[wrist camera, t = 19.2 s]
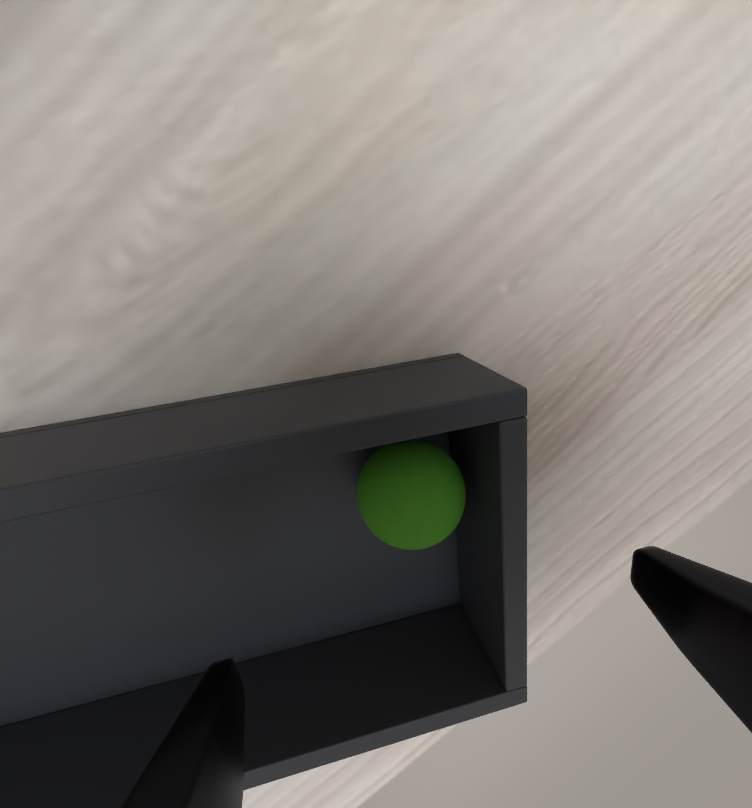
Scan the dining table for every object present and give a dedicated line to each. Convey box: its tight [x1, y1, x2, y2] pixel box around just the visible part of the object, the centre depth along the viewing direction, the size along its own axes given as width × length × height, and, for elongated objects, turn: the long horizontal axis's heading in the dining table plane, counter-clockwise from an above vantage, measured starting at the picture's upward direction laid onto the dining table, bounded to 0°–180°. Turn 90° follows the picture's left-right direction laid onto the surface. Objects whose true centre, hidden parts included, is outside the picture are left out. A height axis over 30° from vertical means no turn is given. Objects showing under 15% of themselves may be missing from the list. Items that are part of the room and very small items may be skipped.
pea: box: [357, 439, 466, 550], centre depth 13 cm, size 4×4×4 cm
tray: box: [0, 353, 527, 808], centre depth 12 cm, size 12×26×4 cm, turn 97°
